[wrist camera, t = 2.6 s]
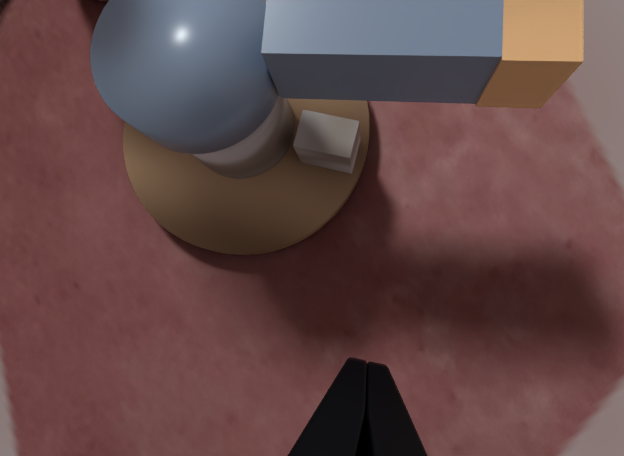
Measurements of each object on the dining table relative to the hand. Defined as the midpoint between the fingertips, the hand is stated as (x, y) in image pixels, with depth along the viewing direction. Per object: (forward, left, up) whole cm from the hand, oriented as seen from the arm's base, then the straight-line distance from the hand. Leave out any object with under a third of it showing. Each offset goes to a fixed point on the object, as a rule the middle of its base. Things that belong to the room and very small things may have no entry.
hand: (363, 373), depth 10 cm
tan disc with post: (+9, +6, -11) cm, 16 cm away
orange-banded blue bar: (+9, +2, -5) cm, 10 cm away
